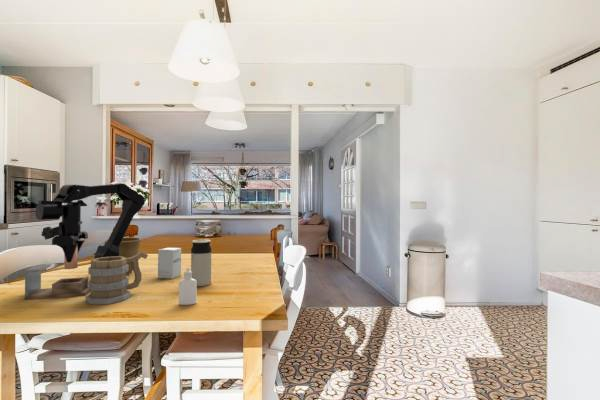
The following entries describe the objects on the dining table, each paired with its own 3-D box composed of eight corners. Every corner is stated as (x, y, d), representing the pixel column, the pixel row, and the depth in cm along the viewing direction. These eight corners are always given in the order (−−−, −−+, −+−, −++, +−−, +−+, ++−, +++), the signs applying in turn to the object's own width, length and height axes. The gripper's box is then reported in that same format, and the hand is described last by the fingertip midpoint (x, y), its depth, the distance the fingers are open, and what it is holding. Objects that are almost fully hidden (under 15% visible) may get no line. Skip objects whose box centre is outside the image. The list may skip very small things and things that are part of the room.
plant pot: (108, 271, 160) (108, 237, 160) (142, 269, 165) (142, 237, 165) (100, 278, 146) (100, 241, 146) (137, 276, 151) (138, 240, 151)
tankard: (94, 307, 108) (95, 260, 108) (81, 299, 116) (82, 255, 116) (155, 294, 123) (156, 253, 123) (140, 288, 131) (140, 249, 131)
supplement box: (172, 279, 146) (172, 250, 146) (157, 278, 148) (157, 249, 148) (181, 275, 153) (181, 247, 153) (167, 274, 155) (167, 247, 155)
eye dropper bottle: (184, 300, 115) (184, 266, 115) (198, 302, 114) (199, 266, 114) (176, 304, 111) (176, 268, 111) (191, 306, 109) (191, 269, 109)
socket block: (93, 288, 130) (93, 262, 130) (85, 295, 120) (85, 267, 120) (37, 291, 124) (37, 264, 124) (24, 299, 115) (25, 270, 115)
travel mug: (190, 287, 133) (190, 241, 133) (191, 282, 140) (191, 239, 140) (211, 286, 135) (211, 241, 135) (210, 281, 142) (211, 239, 142)
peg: (78, 266, 126) (79, 245, 126) (75, 268, 122) (75, 246, 122) (66, 267, 125) (66, 245, 124) (62, 269, 121) (62, 247, 121)
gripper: (55, 217, 130) (55, 257, 130) (33, 220, 112) (33, 267, 112) (88, 217, 133) (88, 256, 133) (72, 220, 115) (72, 265, 115)
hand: (71, 261), depth 123 cm, fingers closed on peg, 4 cm apart
